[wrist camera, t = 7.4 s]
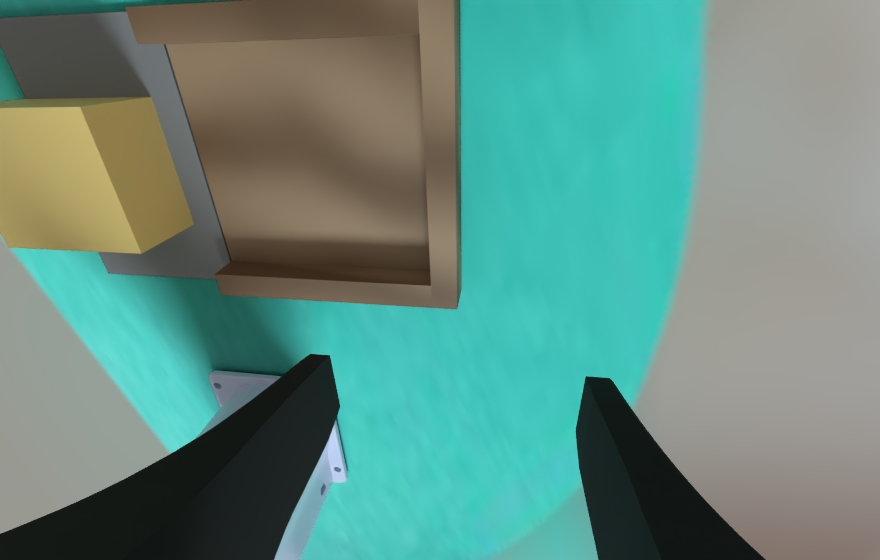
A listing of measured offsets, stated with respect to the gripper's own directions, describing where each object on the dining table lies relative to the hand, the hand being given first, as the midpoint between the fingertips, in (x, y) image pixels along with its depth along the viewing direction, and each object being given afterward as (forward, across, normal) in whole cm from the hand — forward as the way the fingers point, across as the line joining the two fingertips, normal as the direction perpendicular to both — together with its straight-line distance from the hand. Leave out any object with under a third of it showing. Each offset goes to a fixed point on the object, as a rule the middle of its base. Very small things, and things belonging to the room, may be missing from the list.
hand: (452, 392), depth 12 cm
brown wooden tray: (+9, +7, -4) cm, 12 cm away
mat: (+9, +17, -4) cm, 20 cm away
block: (+9, +18, -4) cm, 21 cm away
